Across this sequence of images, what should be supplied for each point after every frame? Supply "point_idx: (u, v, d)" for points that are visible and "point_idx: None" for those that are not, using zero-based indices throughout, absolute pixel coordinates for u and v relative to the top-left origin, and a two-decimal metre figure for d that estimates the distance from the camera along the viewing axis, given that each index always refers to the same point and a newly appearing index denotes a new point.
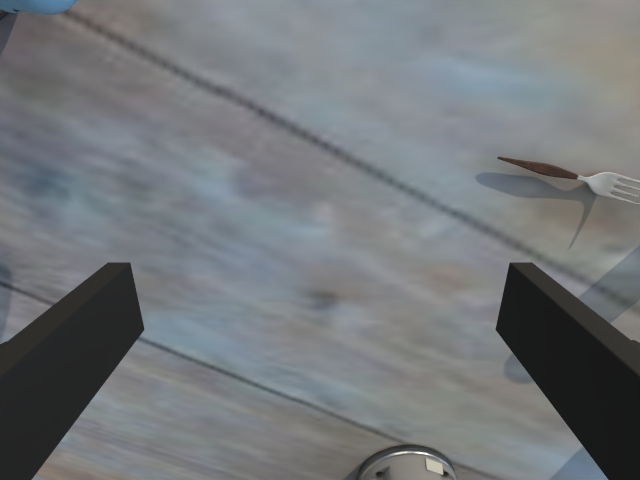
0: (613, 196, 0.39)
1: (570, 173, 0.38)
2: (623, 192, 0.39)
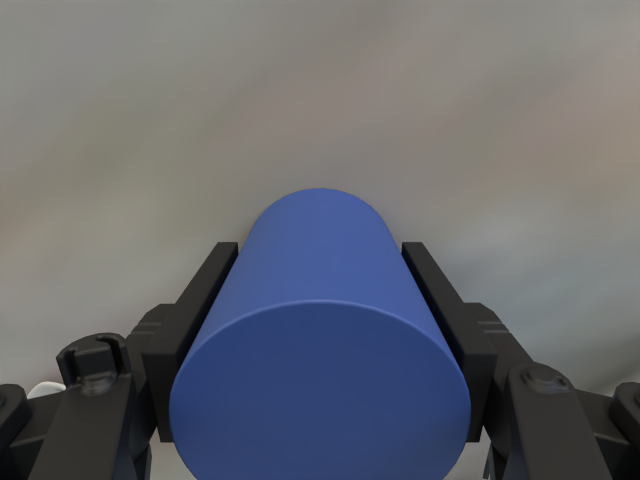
0: None
1: None
2: None
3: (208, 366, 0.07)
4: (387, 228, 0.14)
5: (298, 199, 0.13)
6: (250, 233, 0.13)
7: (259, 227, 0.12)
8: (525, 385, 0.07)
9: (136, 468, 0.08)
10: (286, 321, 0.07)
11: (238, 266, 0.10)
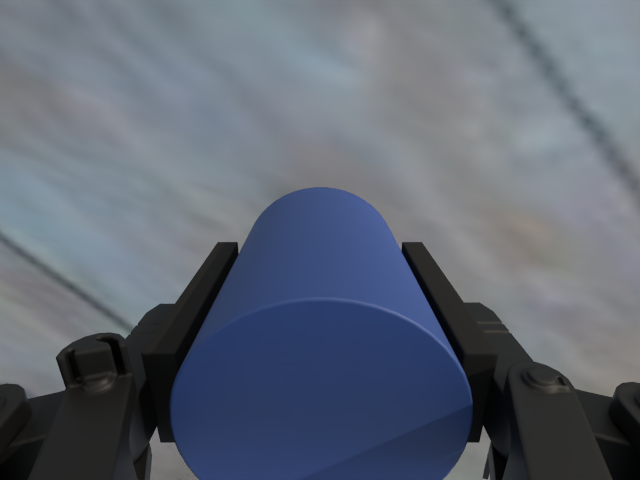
0: None
1: None
2: None
3: (209, 364, 0.07)
4: (388, 227, 0.14)
5: (299, 198, 0.13)
6: (251, 232, 0.13)
7: (260, 226, 0.12)
8: (525, 385, 0.07)
9: (136, 468, 0.08)
10: (287, 319, 0.07)
11: (239, 264, 0.10)
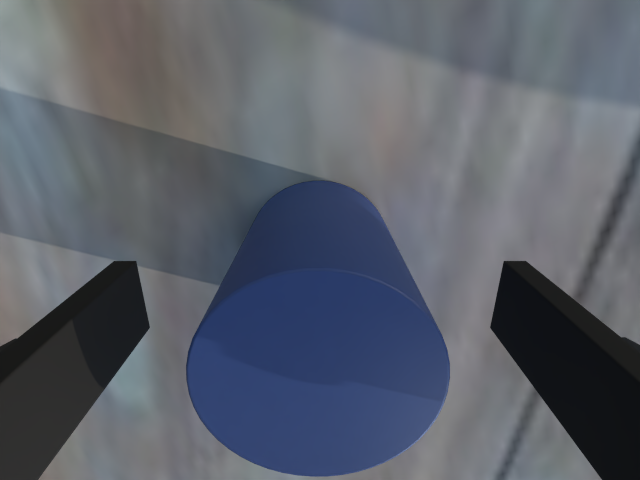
0: None
1: None
2: None
3: (222, 327, 0.08)
4: (381, 217, 0.15)
5: (299, 190, 0.14)
6: (254, 221, 0.14)
7: (263, 215, 0.14)
8: None
9: None
10: (288, 287, 0.08)
11: (245, 247, 0.11)
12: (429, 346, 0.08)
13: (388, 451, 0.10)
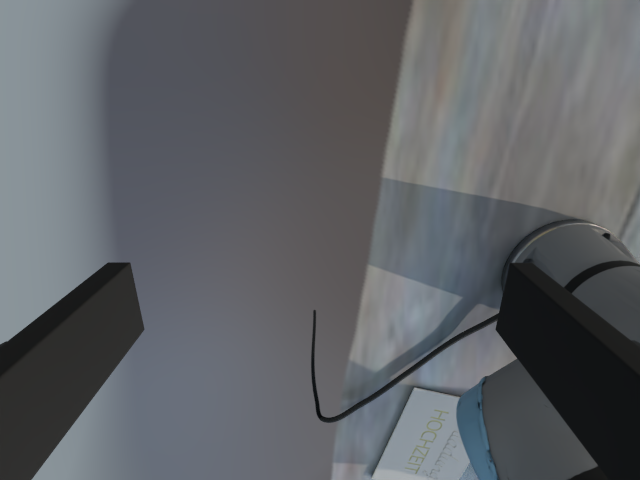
0: None
1: None
2: None
3: None
4: None
5: None
6: None
7: None
8: None
9: None
10: None
11: None
12: None
13: None
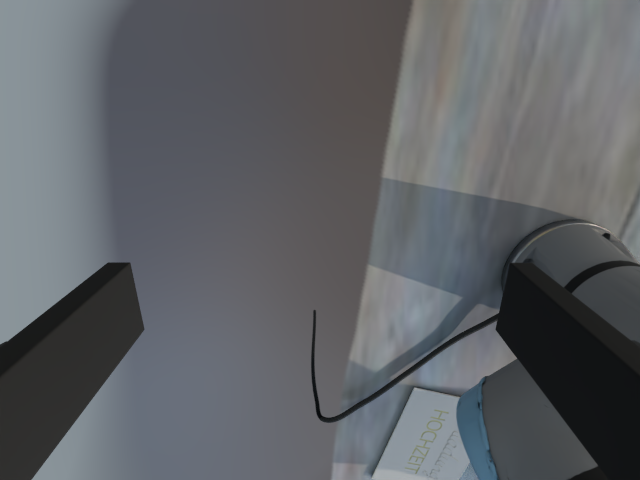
0: None
1: None
2: None
3: None
4: None
5: None
6: None
7: None
8: None
9: None
10: None
11: None
12: None
13: None
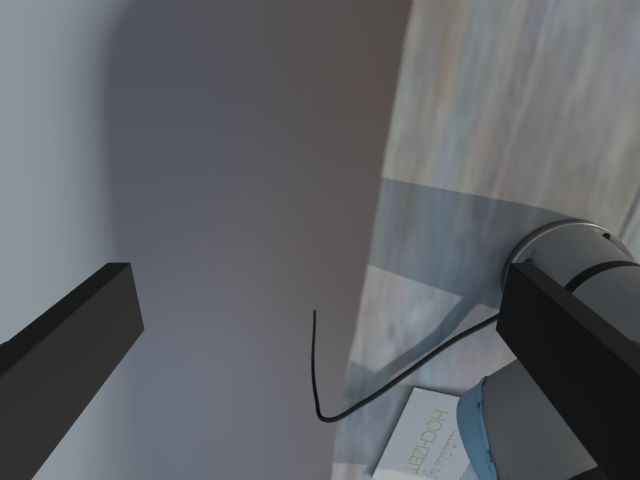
0: None
1: None
2: None
3: None
4: None
5: None
6: None
7: None
8: None
9: None
10: None
11: None
12: None
13: None
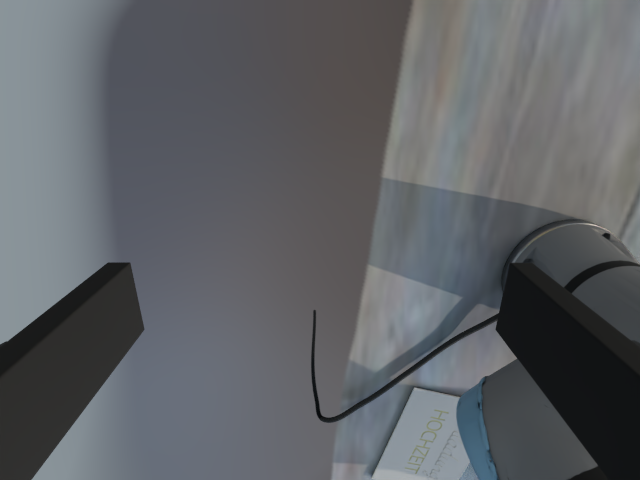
0: None
1: None
2: None
3: None
4: None
5: None
6: None
7: None
8: None
9: None
10: None
11: None
12: None
13: None
